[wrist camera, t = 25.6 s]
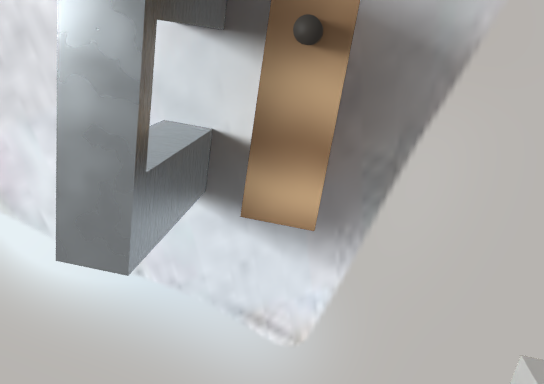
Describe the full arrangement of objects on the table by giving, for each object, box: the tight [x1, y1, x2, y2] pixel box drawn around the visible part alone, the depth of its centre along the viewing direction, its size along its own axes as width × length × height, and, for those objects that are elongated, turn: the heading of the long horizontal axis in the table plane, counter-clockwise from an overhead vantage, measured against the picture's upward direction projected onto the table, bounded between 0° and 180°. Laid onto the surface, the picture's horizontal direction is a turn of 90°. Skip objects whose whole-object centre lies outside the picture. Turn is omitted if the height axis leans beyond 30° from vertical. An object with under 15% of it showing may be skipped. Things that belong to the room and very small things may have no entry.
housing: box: [56, 0, 227, 276], centre depth 29 cm, size 4×18×15 cm, turn 171°
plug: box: [240, 0, 360, 231], centre depth 30 cm, size 13×4×12 cm, turn 171°
